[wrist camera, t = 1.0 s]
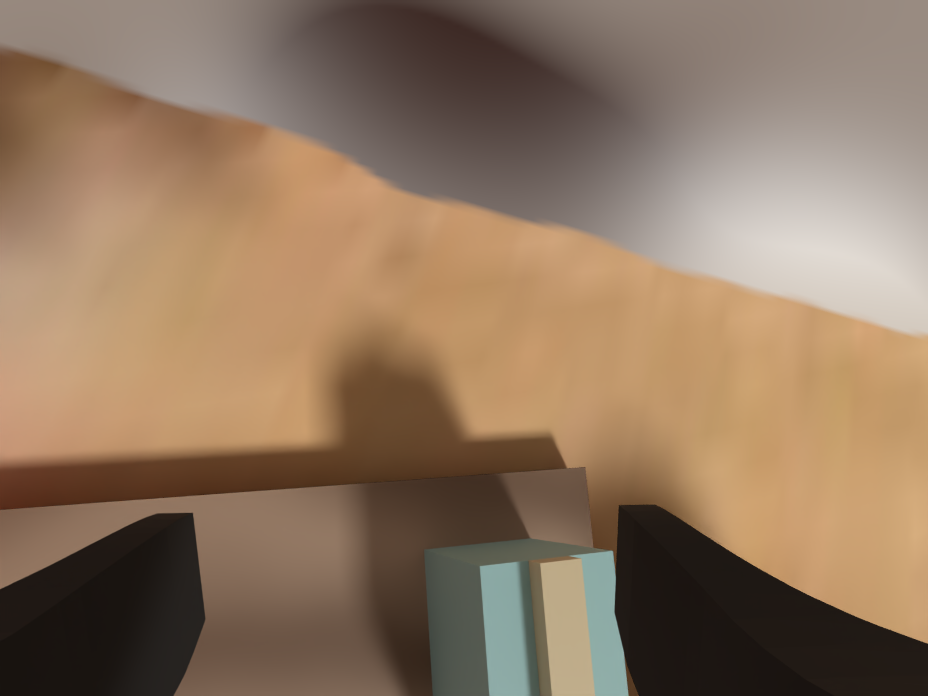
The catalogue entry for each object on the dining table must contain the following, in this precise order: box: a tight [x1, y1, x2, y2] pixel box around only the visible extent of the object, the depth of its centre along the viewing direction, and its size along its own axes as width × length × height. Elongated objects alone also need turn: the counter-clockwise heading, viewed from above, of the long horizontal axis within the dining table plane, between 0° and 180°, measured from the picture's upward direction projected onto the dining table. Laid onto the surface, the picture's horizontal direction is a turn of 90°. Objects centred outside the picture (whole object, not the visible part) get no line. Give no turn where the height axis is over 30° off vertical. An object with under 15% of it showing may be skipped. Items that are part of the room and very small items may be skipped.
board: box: [0, 467, 593, 696], centre depth 22 cm, size 11×23×3 cm, turn 94°
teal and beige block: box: [424, 538, 628, 696], centre depth 21 cm, size 7×4×7 cm, turn 4°
